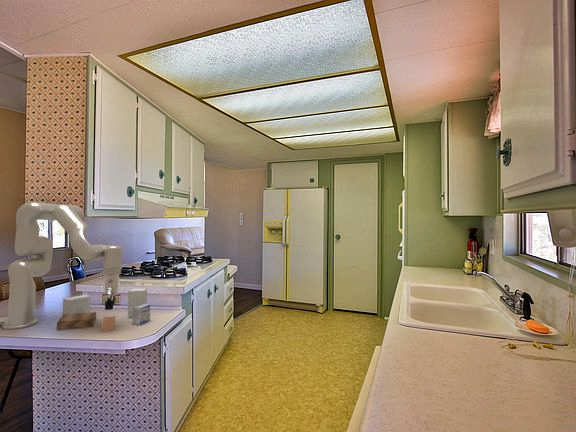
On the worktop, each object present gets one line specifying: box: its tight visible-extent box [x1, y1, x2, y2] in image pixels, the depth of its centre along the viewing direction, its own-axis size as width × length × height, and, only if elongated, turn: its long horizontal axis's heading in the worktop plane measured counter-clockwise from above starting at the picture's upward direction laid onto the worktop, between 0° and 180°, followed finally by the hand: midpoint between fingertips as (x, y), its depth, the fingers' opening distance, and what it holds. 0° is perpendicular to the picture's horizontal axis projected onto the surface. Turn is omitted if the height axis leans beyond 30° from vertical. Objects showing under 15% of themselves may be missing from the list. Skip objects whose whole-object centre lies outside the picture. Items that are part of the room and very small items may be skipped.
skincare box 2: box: [127, 287, 148, 319], centre depth 160 cm, size 8×6×15 cm
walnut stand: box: [56, 311, 97, 332], centre depth 144 cm, size 14×12×4 cm
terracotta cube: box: [101, 315, 116, 332], centre depth 140 cm, size 5×5×5 cm
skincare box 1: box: [62, 294, 91, 315], centre depth 156 cm, size 10×6×10 cm, turn 152°
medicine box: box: [131, 303, 151, 326], centre depth 150 cm, size 8×4×9 cm, turn 168°
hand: (109, 306), depth 141 cm, fingers open, 9 cm apart
